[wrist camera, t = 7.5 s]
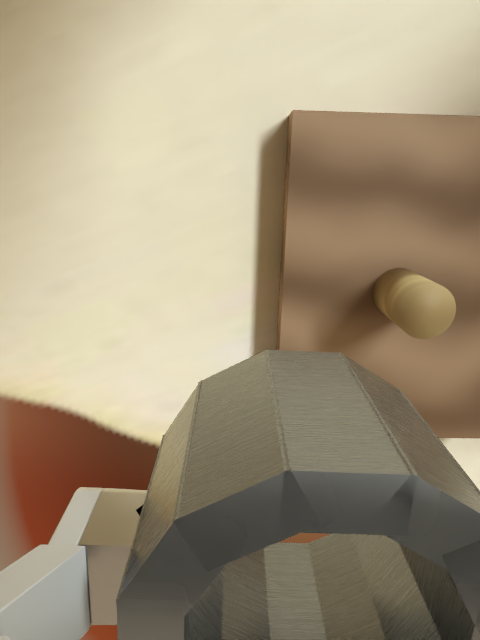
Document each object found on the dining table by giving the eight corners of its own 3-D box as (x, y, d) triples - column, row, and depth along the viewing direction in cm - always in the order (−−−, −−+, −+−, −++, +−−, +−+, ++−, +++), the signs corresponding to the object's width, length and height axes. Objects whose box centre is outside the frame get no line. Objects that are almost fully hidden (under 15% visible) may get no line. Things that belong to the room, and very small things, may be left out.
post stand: (288, 115, 27) (305, 94, 20) (524, 122, 27) (611, 104, 21) (272, 419, 32) (281, 475, 26) (466, 423, 33) (521, 479, 26)
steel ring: (161, 344, 10) (108, 462, 6) (443, 356, 10) (589, 479, 6) (162, 569, 12) (123, 782, 8) (400, 577, 12) (489, 789, 8)
